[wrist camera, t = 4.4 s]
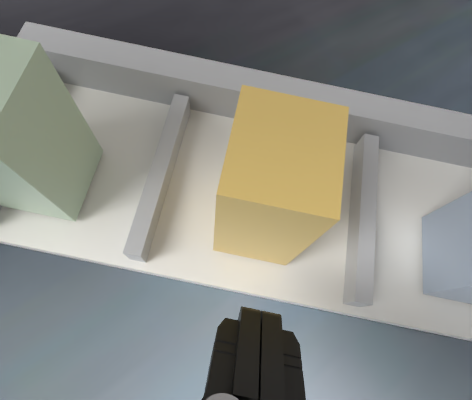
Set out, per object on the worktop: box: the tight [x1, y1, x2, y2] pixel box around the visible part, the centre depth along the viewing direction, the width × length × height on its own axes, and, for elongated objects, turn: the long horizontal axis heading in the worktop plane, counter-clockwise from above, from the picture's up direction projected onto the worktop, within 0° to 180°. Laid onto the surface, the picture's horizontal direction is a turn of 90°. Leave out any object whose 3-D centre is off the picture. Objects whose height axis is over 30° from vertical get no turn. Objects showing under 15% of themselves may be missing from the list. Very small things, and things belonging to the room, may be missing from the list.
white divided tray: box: [0, 22, 472, 341], centre depth 22 cm, size 14×35×4 cm, turn 79°
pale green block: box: [0, 34, 103, 222], centre depth 17 cm, size 5×4×9 cm
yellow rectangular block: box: [213, 85, 349, 265], centre depth 17 cm, size 5×4×9 cm
